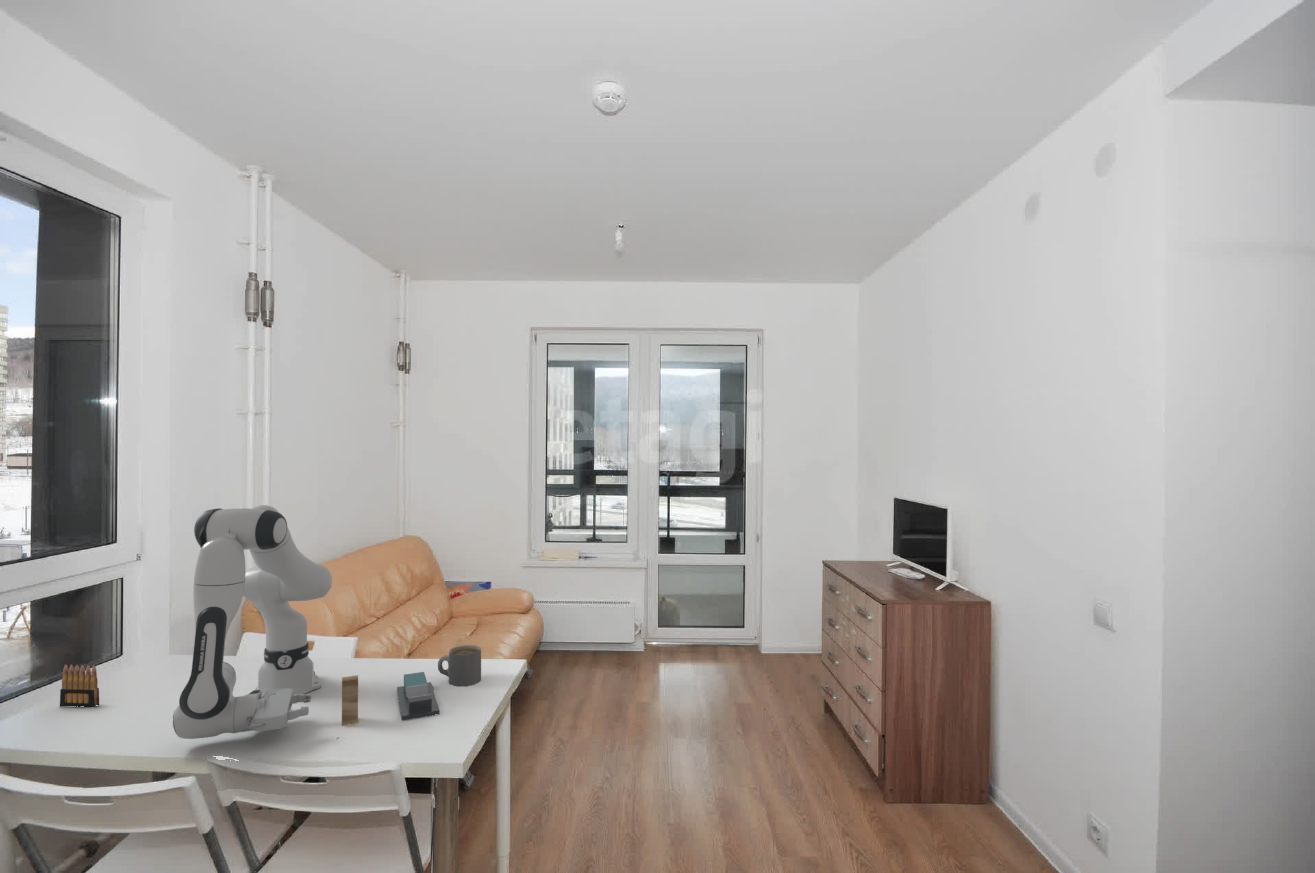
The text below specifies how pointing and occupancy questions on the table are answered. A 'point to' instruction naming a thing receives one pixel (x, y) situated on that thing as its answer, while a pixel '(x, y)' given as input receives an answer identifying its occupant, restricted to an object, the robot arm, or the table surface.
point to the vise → (417, 704)
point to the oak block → (349, 700)
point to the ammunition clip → (79, 687)
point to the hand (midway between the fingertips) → (309, 703)
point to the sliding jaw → (415, 684)
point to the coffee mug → (462, 665)
